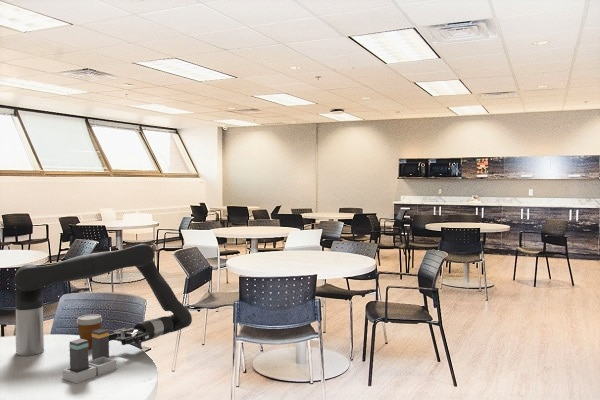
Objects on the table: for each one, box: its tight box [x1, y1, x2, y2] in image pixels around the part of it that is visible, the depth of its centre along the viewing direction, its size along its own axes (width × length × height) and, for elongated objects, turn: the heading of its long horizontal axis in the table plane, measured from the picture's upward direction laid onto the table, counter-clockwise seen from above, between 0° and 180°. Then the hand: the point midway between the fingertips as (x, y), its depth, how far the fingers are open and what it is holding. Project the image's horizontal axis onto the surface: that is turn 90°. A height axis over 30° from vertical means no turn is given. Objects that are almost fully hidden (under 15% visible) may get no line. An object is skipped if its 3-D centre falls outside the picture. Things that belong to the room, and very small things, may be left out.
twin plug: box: [68, 338, 90, 373], centre depth 173 cm, size 4×4×12 cm
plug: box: [91, 328, 110, 360], centre depth 189 cm, size 4×4×12 cm
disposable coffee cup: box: [76, 313, 103, 351], centre depth 208 cm, size 10×10×12 cm
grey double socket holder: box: [61, 357, 118, 385], centre depth 177 cm, size 8×16×4 cm, turn 147°
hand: (114, 340), depth 194 cm, fingers open, 8 cm apart
